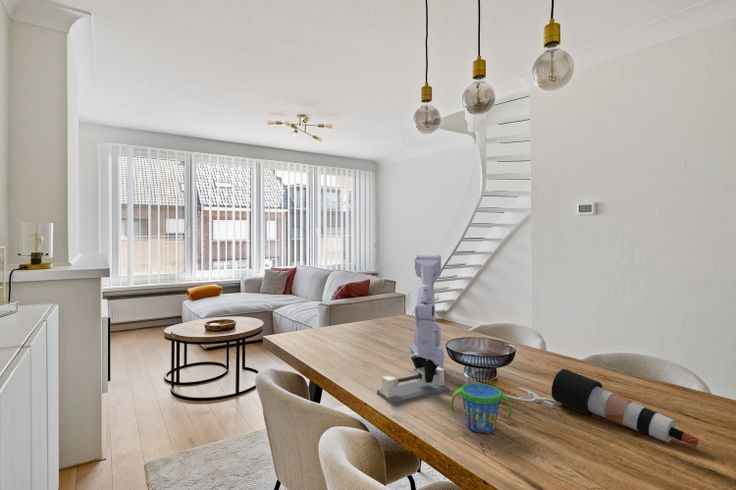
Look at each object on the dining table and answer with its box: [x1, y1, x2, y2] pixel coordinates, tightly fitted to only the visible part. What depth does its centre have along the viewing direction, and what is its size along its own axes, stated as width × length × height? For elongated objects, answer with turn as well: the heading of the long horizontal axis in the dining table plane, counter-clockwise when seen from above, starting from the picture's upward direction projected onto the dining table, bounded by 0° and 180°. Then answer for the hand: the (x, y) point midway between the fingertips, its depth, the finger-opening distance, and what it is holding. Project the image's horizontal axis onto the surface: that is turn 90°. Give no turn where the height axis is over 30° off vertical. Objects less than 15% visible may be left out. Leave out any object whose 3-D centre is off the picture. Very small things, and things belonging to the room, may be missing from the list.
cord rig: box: [376, 367, 451, 406], centre depth 130 cm, size 22×10×6 cm, turn 119°
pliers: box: [504, 386, 559, 409], centre depth 125 cm, size 10×2×15 cm
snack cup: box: [450, 382, 513, 434], centre depth 107 cm, size 16×10×10 cm
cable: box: [551, 368, 699, 448], centre depth 108 cm, size 10×34×10 cm, turn 35°
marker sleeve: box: [415, 367, 433, 384], centre depth 132 cm, size 4×4×4 cm
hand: (424, 380), depth 132 cm, fingers closed on marker sleeve, 4 cm apart
